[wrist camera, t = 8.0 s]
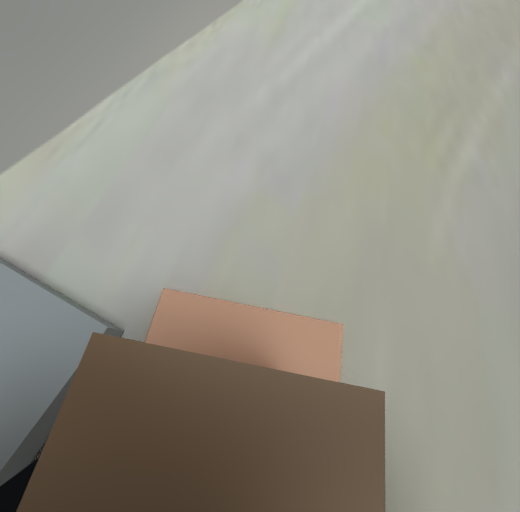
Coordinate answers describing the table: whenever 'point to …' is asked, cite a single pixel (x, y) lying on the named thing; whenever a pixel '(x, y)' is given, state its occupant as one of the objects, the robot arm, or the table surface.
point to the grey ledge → (36, 361)
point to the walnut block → (207, 438)
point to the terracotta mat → (247, 334)
